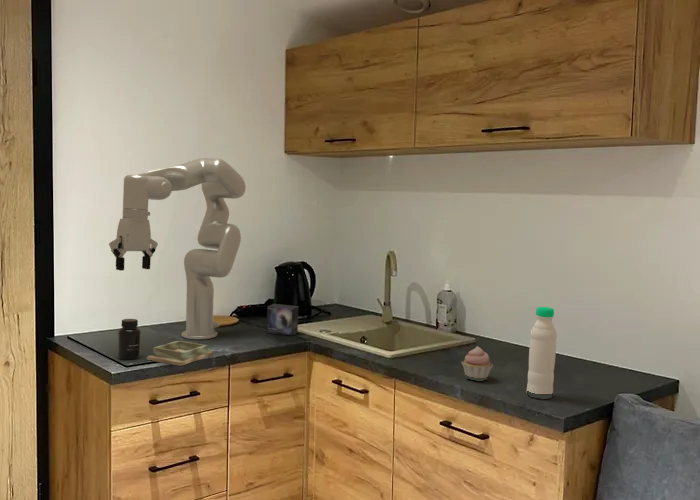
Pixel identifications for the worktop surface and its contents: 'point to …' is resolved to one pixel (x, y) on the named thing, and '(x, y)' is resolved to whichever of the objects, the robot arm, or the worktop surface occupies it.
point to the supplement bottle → (129, 340)
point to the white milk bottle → (542, 353)
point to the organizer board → (179, 353)
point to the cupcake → (477, 363)
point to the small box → (282, 319)
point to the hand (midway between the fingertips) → (133, 269)
